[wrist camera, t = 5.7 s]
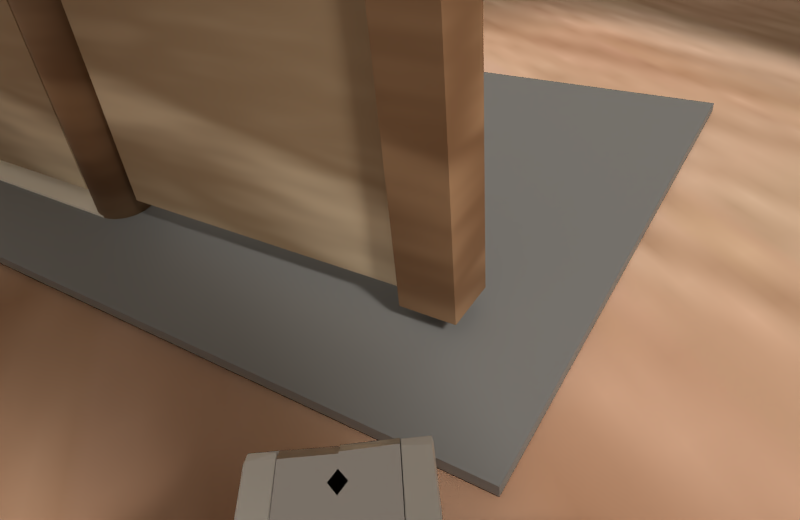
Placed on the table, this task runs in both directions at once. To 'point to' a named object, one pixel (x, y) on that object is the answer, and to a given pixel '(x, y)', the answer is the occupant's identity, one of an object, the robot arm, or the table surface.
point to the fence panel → (307, 127)
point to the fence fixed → (56, 108)
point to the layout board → (378, 301)
